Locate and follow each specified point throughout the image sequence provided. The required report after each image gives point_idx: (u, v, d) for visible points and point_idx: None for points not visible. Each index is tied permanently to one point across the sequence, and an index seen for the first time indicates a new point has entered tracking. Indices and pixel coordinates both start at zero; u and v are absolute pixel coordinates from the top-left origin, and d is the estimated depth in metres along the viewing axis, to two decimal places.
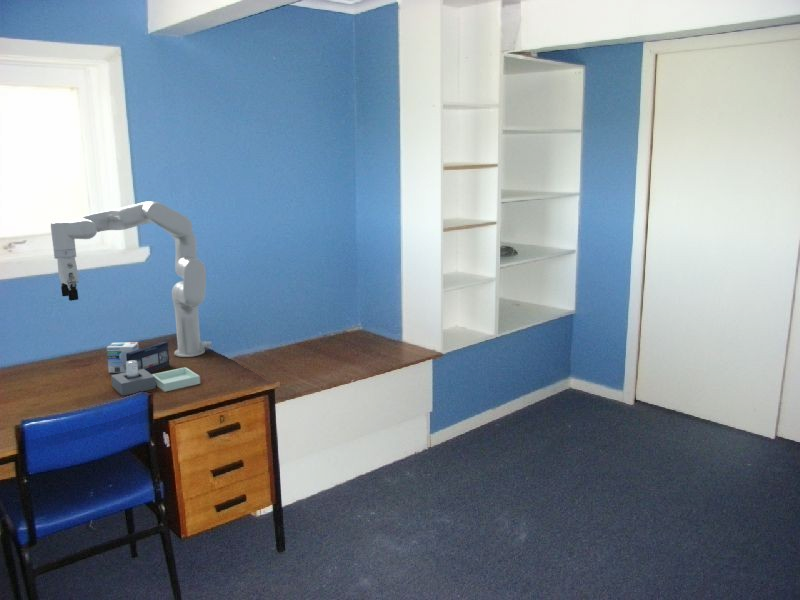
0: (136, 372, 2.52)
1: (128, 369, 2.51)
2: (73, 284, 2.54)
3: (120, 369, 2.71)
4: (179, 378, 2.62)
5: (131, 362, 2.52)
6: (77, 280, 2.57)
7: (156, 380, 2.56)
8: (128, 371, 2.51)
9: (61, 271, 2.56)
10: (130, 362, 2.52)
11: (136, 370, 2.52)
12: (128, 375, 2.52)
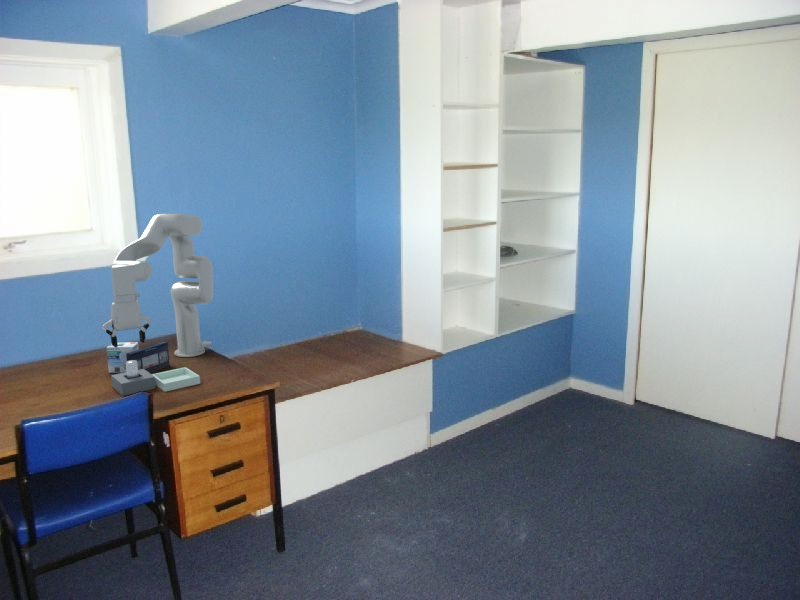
0: (136, 372, 2.52)
1: (128, 369, 2.51)
2: None
3: (120, 369, 2.71)
4: (179, 378, 2.62)
5: (131, 362, 2.52)
6: None
7: (156, 380, 2.56)
8: (128, 371, 2.51)
9: (133, 315, 2.47)
10: (130, 362, 2.52)
11: (136, 370, 2.52)
12: (128, 375, 2.52)
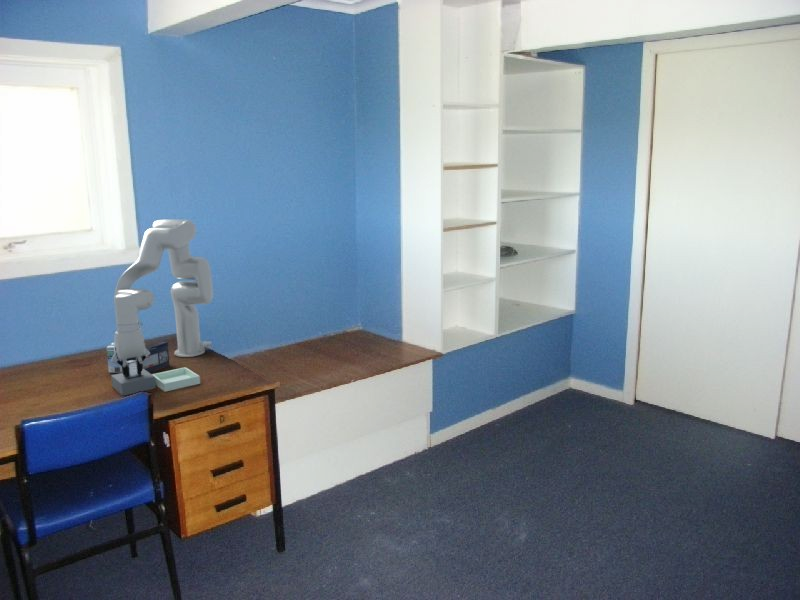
0: (136, 372, 2.52)
1: (128, 369, 2.51)
2: None
3: (120, 369, 2.71)
4: (179, 378, 2.62)
5: (131, 362, 2.52)
6: None
7: (156, 380, 2.56)
8: (128, 371, 2.51)
9: (136, 344, 2.50)
10: (130, 362, 2.52)
11: (136, 370, 2.52)
12: None
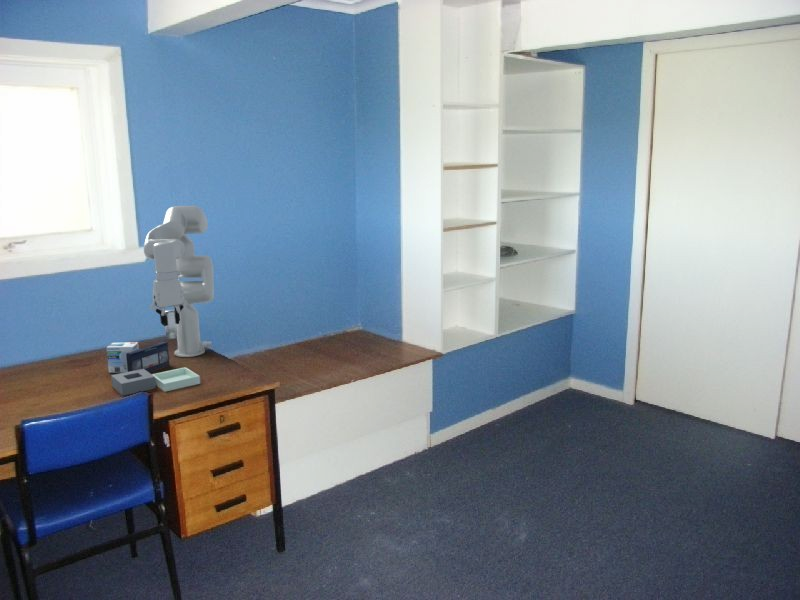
0: (174, 321, 2.53)
1: (166, 318, 2.52)
2: None
3: (120, 369, 2.71)
4: (179, 378, 2.62)
5: (169, 311, 2.52)
6: None
7: (156, 380, 2.56)
8: None
9: (175, 293, 2.51)
10: (168, 311, 2.52)
11: (174, 319, 2.53)
12: None
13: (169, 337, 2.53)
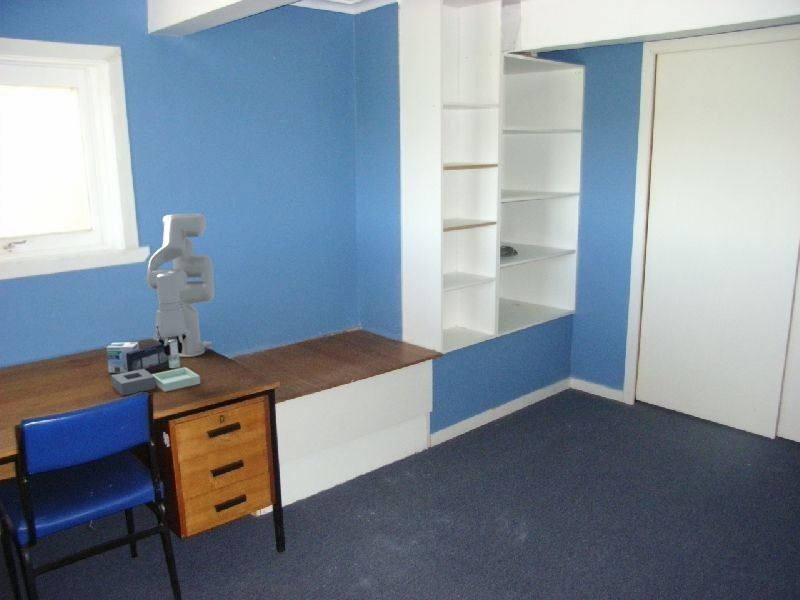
0: (177, 351, 2.55)
1: (169, 348, 2.54)
2: None
3: (120, 369, 2.71)
4: (179, 378, 2.62)
5: (172, 341, 2.55)
6: None
7: (156, 380, 2.56)
8: (169, 350, 2.54)
9: (178, 323, 2.53)
10: (171, 341, 2.55)
11: (177, 349, 2.55)
12: None
13: (172, 366, 2.56)
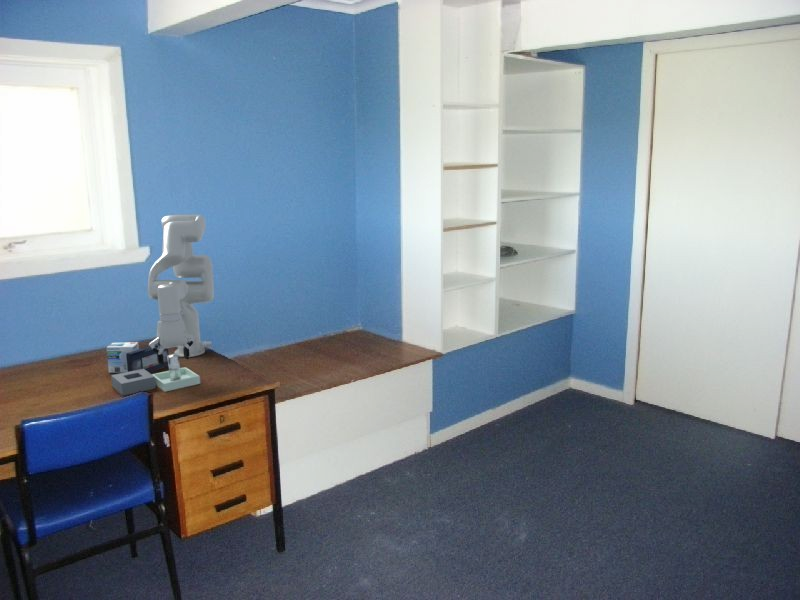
0: (178, 365, 2.57)
1: (170, 363, 2.55)
2: None
3: (120, 369, 2.71)
4: None
5: (172, 356, 2.56)
6: None
7: (156, 380, 2.56)
8: (170, 365, 2.55)
9: (179, 333, 2.54)
10: (171, 356, 2.56)
11: (177, 363, 2.57)
12: (170, 369, 2.56)
13: None
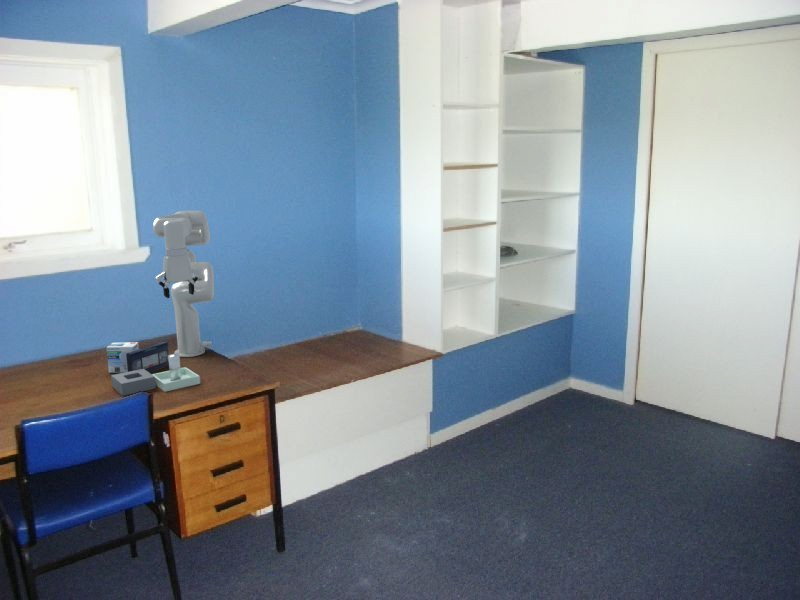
0: (178, 365, 2.57)
1: (171, 362, 2.55)
2: None
3: (120, 369, 2.71)
4: None
5: (173, 356, 2.56)
6: None
7: (156, 380, 2.56)
8: (171, 364, 2.56)
9: (184, 268, 2.65)
10: (172, 356, 2.56)
11: (178, 363, 2.57)
12: (170, 368, 2.56)
13: None
